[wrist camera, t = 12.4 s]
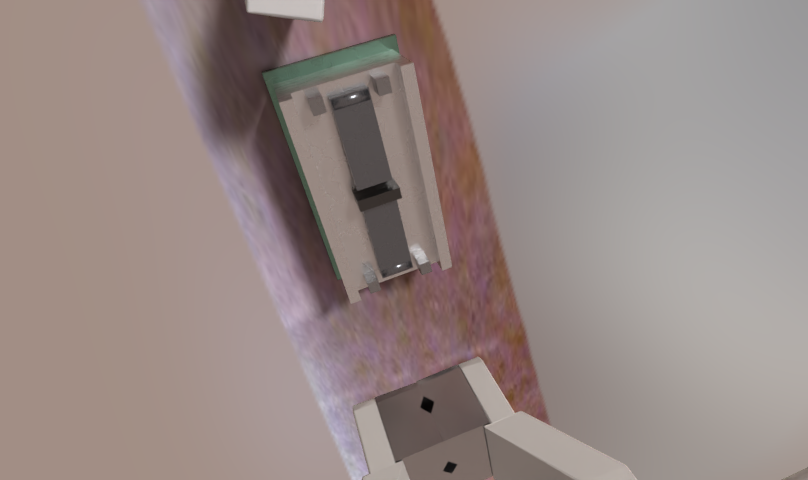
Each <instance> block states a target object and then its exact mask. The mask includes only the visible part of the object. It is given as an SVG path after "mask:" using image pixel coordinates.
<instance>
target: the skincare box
mask: <svg viewBox="0 0 808 480" xmlns="http://www.w3.org/2000/svg"><path fill="white" fill-rule="evenodd" d="M244 1H245V5H246V10H247V12H248V13H252V14H259V15H266V16H273V17H281V18H289V19H297V20H305V21H314V22H322V21H323V18H324V0H244Z"/></svg>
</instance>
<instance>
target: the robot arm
mask: <svg viewBox="0 0 808 480" xmlns="http://www.w3.org/2000/svg"><path fill="white" fill-rule="evenodd" d="M353 414H354V418H355V422H356V426H357V429H358V433H359V437H360V441H361V444H362V448H363V452H364V456H365V460H366V463H367V467H368V471H369V474H368V475H366V476H363V478H362V480H484V479H487V478H489V477H492V476H493V478H494V479H496V480H637V479H636V477H635V476H634V475H633V473H632V472H631V471H630V469H629V468H628V467H627V466H626V465H625V464H623V463H621V462H619V461H617V460H615V459H613V458H611V457H609V456H607V455H606V454H603V453H602V452H600V451H598V450H596V449H594V448H592V447H590V446H588V445H586V444H584V443H582V442H580V441H578V440H577V439H575V438H573V437H571V436H569V435H567V434H565V433H563V432H561V431H559V430H557V429H555V428H553V427H551V426H549V425H547V424H546V423H544V422H542V421H540V420H538V419H536V418H534V417H532V416H530V415H528V414H526V413H524V412H522V411H519V412H517V413H514V411H513V409H512V408H511V406H510V405H509V403H508V401H507V400H506V398H505V396H504V395H503V393H502V392H501V390H500V388H499V387H498V385H497V383H496V382H495V380H494V378H493V377H492V375H491V374H490V372H489V370H488V369H487V367H486V365H485V364H484V362H483V361H482V359H480V358H479V357H476V358H474V359H471V360H469V361H466V362H464V363H461V364H459V365H458V366H457V365H455V366H453V367H450V368H448V369H445V370H443V371H440V372H438V373H436V374H433V375H431V376H428V377H426V378H423V379H421V380H418V381H416V383H413V384H410V385H408V386H405V387H402V388H399V389H397V390H394V391H391V392H388V393H386V394H383V395H380V396H377V397H375V398H372V399H370V400H367V401H364V402H362V403H359V404H357V405H354V406H353ZM782 480H808V467H807V468H805V469H803V470H801V471H799V472H797V473H795V474H793V475H791V476H789V477H786V478H785V479H782Z"/></svg>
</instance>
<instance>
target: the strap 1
mask: <svg viewBox="0 0 808 480" xmlns="http://www.w3.org/2000/svg"><path fill="white" fill-rule="evenodd" d="M328 99H329V102H330V106H331V109H332V112H333V116H334V119H335V122H336V125H337V129H338V132H339V135H340V139H341V142H342V145H343V148H344V152H345V155H346V158H347V162H348V165H349V168H350V171H351V175H352V178H353V181H354V184H355V188H356V189H357V191H359V190H362V189H365V188H368V187H371V186H374V185H377V184H380V183H383V182H386V181H389V180H392V176H391V172H390V168H389V164H388V160H387V156H386V152H385V149H384V145H383V141H382V137H381V133H380V129H379V125H378V122H377V118H376V114H375V110H374V106H373V102H372V98H371V95H370V91H369V87H368V86H363V87H359V88H356V89H353V90H349V91H346V92H343V93H339V94H336V95H333V96H329V97H328Z"/></svg>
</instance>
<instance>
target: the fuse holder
mask: <svg viewBox="0 0 808 480" xmlns="http://www.w3.org/2000/svg"><path fill="white" fill-rule="evenodd" d="M262 75H263V77H264V80H265V83H266V85H267V88H268V91H269V94H270V96H271V99H272V102H273V105H274V107H275V110H276V113H277V116H278V118H279V121H280V124H281V126H282V129H283V132H284V135H285V137H286V140H287V143H288V146H289V148H290V151H291V154H292V157H293V159H294V162H295V165H296V167H297V170H298V173H299V176H300V178H301V181H302V184H303V187H304V189H305V192H306V195H307V198H308V200H309V203H310V206H311V208H312V211H313V214H314V217H315V219H316V222H317V225H318V228H319V230H320V233H321V236H322V239H323V241H324V244H325V247H326V249H327V252H328V255H329V258H330V260H331V263H332V266H333V269H334V271H335V274H336V277H337V280H340V279H342V280H343V283H344V286H345V289H346V292H347V294H348V297H349V300H350V303H351V304H352V303H355V302H357V301H360V300H361V298H360V295H359V292H358V290H361V289H363V288H366V287H368V288H369V290H370V293H374V292H377V291H380V290H381V288H380V284H379V283H380V282H383V281H386V280H388V279H391V278H394V277H397V276H399V275H402V274H405V273H408V272H410V271H413V270H416V269H419V271H420V273H421V274H422V275H423V274H426V273H429V272H432V269H431V265H430V264H432V263H435V262H437V263H438V265H439V266H440V268H441V269H442V270H445V269H448V268H450V267H452V264H451V258H450V253H449V248H448V242H447V237H446V232H445V227H444V221H443V216H442V211H441V205H440V200H439V195H438V190H437V184H436V179H435V174H434V168H433V163H432V158H431V153H430V147H429V142H428V137H427V132H426V126H425V121H424V116H423V110H422V105H421V100H420V95H419V89H418V84H417V79H416V73H415V68H414V63H413V62H412V61H410V60H409V59H407V58H405V57H404V56H402V55H401V54H399V49H398V44H397V39H396V35H395V34H391V35H388V36H384V37H381V38H377V39H374V40H370V41H367V42H364V43H360V44H357V45H353V46H350V47H346V48H343V49H339V50H336V51H332V52H329V53H325V54H322V55H319V56H315V57H312V58H308V59H305V60H301V61H298V62H294V63H291V64H287V65H284V66H281V67H277V68H274V69H270V70H267V71H263V72H262ZM363 86H368V87H369V91H370V95H371V98H372V102H373V106H374V110H375V114H376V118H377V122H378V125H379V129H380V133H381V137H382V141H383V145H384V149H385V152H386V156H387V160H388V164H389V168H390V172H391V176H392V180H389V181H386V182H383V183H380V184H377V185H374V186H371V187H368V188H365V189H362V190H359V191H357V189H356V188H355V184H354V181H353V178H352V175H351V171H350V168H349V165H348V162H347V158H346V155H345V152H344V148H343V145H342V142H341V139H340V135H339V132H338V129H337V125H336V122H335V119H334V116H333V112H332V109H331V106H330V102H329V99H328V97H329V96H333V95H336V94H339V93H343V92H346V91H349V90H353V89H356V88H359V87H363ZM395 200H397V203H398V207H399V211H400V215H401V219H402V223H403V227H404V232H405V236H406V240H407V244H408V248H409V252H410V256H411V261H412V265H413V268H411V269H408V270H405V271H402V272H400V273H397V274H394V275H391V276H389V277H386V278H382V276H381V273H380V270H379V267H378V263H377V260H376V257H375V253H374V250H373V246H372V243H371V240H370V236H369V233H368V230H367V226H366V223H365V219H364V216H363V213H362V212H363V211H366V210H369V209H371V208H374V207H377V206H380V205H383V204H386V203H389V202H392V201H395Z"/></svg>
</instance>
